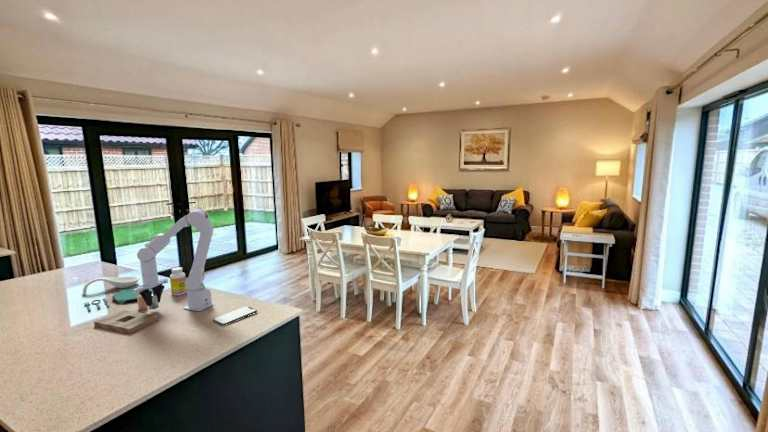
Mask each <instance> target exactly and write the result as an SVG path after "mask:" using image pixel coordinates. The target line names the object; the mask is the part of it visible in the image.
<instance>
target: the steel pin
mask: <svg viewBox="0 0 768 432" xmlns="http://www.w3.org/2000/svg"><path fill="white" fill-rule="evenodd" d="M151 301H152V306H148V309H149V310H155V309H159V307H160V306H159V303H158V297H157V293H152V295H151Z"/></svg>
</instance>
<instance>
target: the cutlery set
mask: <svg viewBox="0 0 768 432" xmlns="http://www.w3.org/2000/svg"><path fill="white" fill-rule="evenodd" d="M137 287H138V286H135V287H132V288H131V287H130V288H127V289H122V290H120V291H117V292H116V293H114V294H113V295H112V298H111V299H112V300H114V302H115V301H116V302H117V303H119V304H120V305H122V304H125V302H130V301H137V296H138V295H140V294H134V292H133V289H135V288H137ZM148 290H149V291H152V293H153V290H152V288H151V289H148ZM102 300H103V302H104V304H105V305H106V307H107V308H110V306H109V304H108V300H107V299H106V298H105V297H103V298H102ZM100 303H101V299H94V300H92V301H91V303H90V302H84V307H86V308H87V310H88V312H89V313H90V312H91V311H92V310H91V308H90V306H91V304H92V305H96V306H97V309H98V310H100V309H101V306H100V305H99V304H100Z"/></svg>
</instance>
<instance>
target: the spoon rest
mask: <svg viewBox="0 0 768 432" xmlns="http://www.w3.org/2000/svg"><path fill="white" fill-rule="evenodd" d="M139 280H140V277H139V276H119V277H118V276H117V277H116V276H115V277H111V276H109V277H108V276H102V277H101V276H100V277H95V278H92V279H90V280H88V281H87V282H86V283H85V284H84V286H83V288H82V295H83V296H86V295H87V290H88V287H89V286H90V285H91V284H93V283H95V282H99V281H101V282H106V283H108V284H110V285H112V286H114V287H116V288H117V289H126V288H127V289H128V288H131V287H133V286H134V285H136V284H137V283H138V282H139Z"/></svg>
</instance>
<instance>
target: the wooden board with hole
mask: <svg viewBox="0 0 768 432" xmlns="http://www.w3.org/2000/svg"><path fill="white" fill-rule="evenodd" d="M159 319H160V318H159V316H158V315H154V314H149V313H143V312H138V311H131V310H127V309H122V310H119V311H118V312H115V313H112V314H110V315H107V316H105V317H103V318H100V319H97V320H95V321H93V325H94V327H96V328H100V329H105V330H108V331H109V330H110V331H115V332H120V333H122V334H123V333H125V334H129V335H131V334H132V333H136V332H137V331H140V330H142V329H144V328H146V327H148V326H150V325H152V324H155V323H157V322H159Z"/></svg>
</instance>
